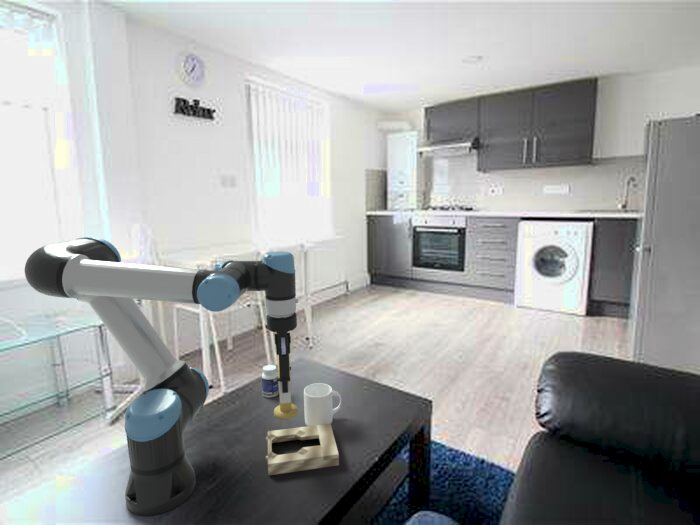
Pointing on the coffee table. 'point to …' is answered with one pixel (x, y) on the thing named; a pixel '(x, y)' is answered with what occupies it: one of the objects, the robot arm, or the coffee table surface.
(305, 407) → the mug
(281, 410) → the headed peg
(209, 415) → the coffee table surface
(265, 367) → the pill bottle
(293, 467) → the keyhole board
